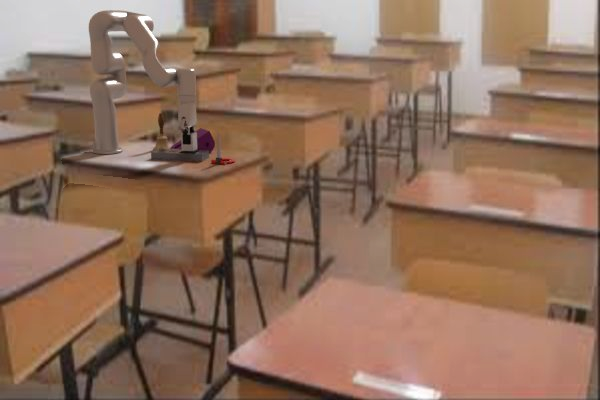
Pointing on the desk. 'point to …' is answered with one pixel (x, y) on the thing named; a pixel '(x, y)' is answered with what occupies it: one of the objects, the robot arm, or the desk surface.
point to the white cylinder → (193, 142)
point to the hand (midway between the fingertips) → (189, 142)
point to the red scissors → (218, 158)
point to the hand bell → (161, 135)
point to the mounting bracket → (200, 141)
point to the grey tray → (179, 155)
